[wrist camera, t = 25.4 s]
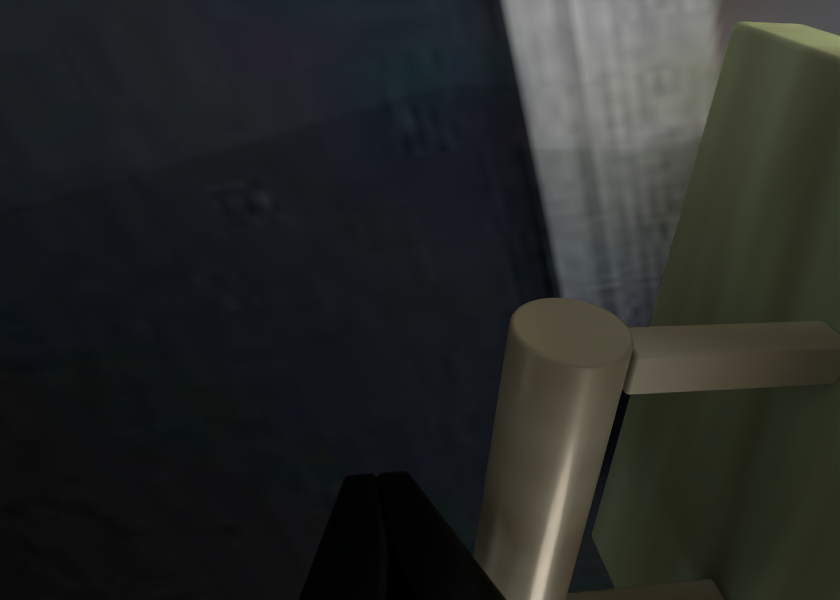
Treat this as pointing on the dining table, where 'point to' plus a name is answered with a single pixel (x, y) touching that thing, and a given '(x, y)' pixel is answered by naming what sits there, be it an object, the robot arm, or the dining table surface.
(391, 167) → the dining table surface
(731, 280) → the drawer
